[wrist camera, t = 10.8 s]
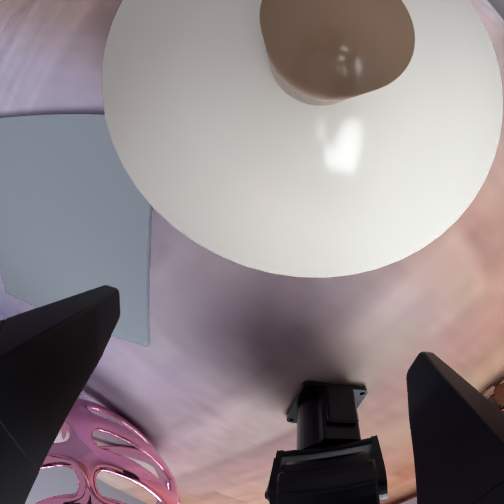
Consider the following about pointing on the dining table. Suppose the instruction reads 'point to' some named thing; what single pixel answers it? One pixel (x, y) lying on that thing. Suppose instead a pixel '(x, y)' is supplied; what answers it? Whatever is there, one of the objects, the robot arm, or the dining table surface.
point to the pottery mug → (498, 396)
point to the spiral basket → (107, 457)
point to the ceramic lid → (304, 124)
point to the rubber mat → (72, 217)
